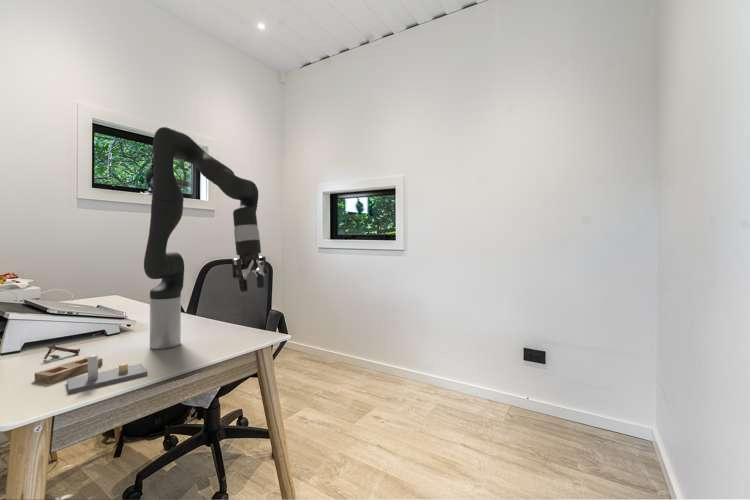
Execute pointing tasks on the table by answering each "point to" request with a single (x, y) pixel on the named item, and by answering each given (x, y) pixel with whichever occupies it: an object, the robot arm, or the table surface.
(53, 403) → the table surface
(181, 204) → the robot arm
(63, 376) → the holed bar
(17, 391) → the table surface
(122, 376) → the base
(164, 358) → the table surface
